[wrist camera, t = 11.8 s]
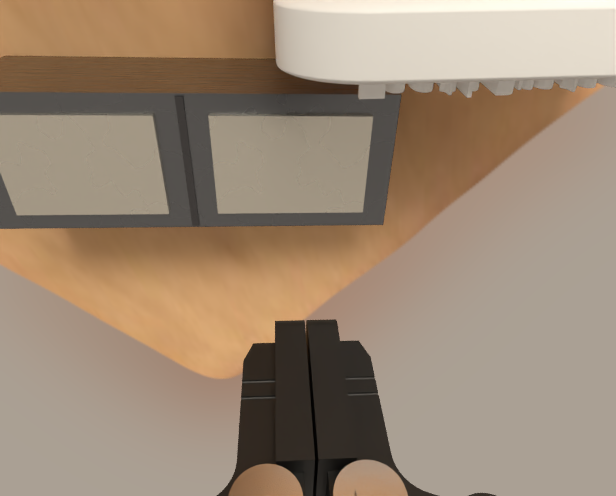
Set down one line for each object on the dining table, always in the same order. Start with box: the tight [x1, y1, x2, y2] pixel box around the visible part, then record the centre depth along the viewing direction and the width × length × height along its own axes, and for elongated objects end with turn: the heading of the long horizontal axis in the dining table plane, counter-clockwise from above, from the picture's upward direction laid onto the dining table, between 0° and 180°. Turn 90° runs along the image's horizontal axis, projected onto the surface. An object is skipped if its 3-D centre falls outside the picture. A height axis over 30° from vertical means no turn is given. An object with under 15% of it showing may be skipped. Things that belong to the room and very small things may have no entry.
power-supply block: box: [0, 56, 401, 229], centre depth 22 cm, size 6×17×5 cm, turn 89°
